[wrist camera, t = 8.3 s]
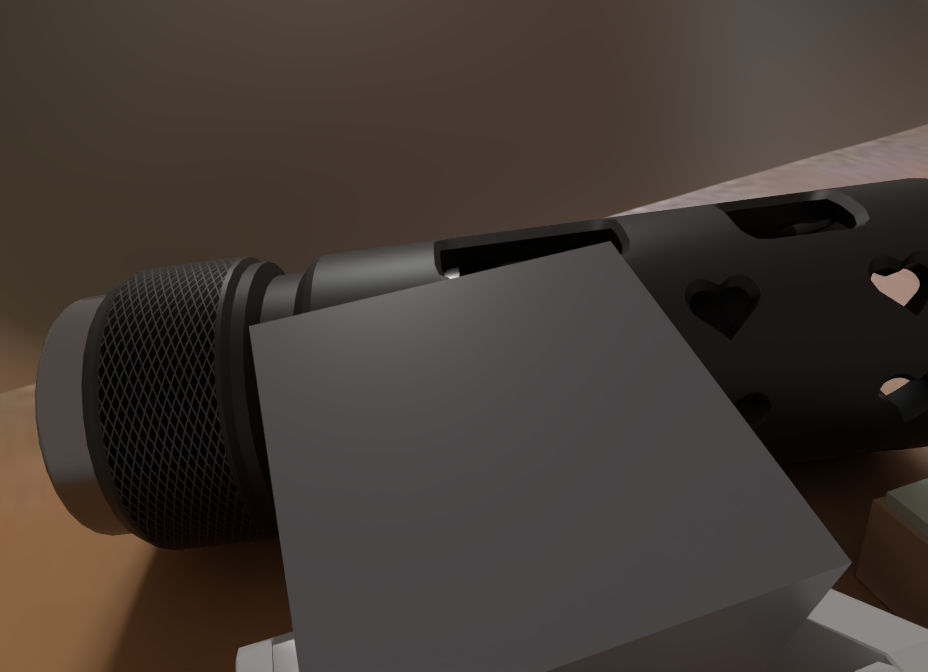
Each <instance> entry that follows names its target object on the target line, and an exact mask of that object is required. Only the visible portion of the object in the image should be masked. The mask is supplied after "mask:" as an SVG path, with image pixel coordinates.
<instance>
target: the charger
mask: <svg viewBox="0 0 928 672" xmlns="http://www.w3.org/2000/svg"><path fill="white" fill-rule="evenodd" d="M249 331H250V337H251V344H252V351H253V358H254V365H255V372H256V379H257V386H258V393H259V399H260V406H261V413H262V420H263V427H264V434H265V441H266V448H267V455H268V461H269V468H270V475H271V482H272V489H273V496H274V503H275V510H276V517H277V523H278V530H279V537H280V544H281V551H282V558H283V565H284V572H285V579H286V585H287V592H288V599H289V606H290V613H291V620H292V627H293V634H294V641H295V648H296V654H297V661H298V668H299V672H763V671H764V670H765V669H766V668H767V666H768V665H769V664H770V663H771V661H772V660H773V659H774V658H775V656H776V655H777V654H778V653H779V652H780V650H781V649H782V648H783V647H784V645H785V644H786V643H787V642H788V641H789V639H790V638H791V637H792V636H793V634H794V633H795V632H796V631H797V629H798V628H799V627H800V626H801V625H802V623H803V622H804V621H805V620H806V618H807V617H808V616H809V615H810V613H811V612H812V611H813V610H814V609H815V607H816V606H817V605H818V604H819V602H820V601H821V600H822V599H823V598H824V596H825V595H826V594H827V593H828V591H829V590H830V589H831V588H832V586H833V585H834V584H835V583H836V582H837V580H838V579H839V578H840V577H841V575H842V574H843V573H844V572H845V570H846V569H847V568H848V567H849V566H850V564H851V563H852V562H851V560H850V559H849V558H848V556H847V555H846V554H845V552H844V551H843V550H842V548H841V547H840V546H839V544H838V543H837V542H836V540H835V539H834V538H833V536H832V535H831V534H830V532H829V531H828V530H827V528H826V527H825V526H824V524H823V523H822V522H821V520H820V519H819V518H818V517H817V515H816V514H815V513H814V511H813V510H812V509H811V507H810V506H809V505H808V503H807V502H806V501H805V499H804V498H803V497H802V495H801V494H800V493H799V491H798V490H797V489H796V487H795V486H794V485H793V483H792V482H791V481H790V479H789V478H788V477H787V475H786V474H785V473H784V471H783V470H782V469H781V467H780V466H779V465H778V463H777V462H776V461H775V459H774V458H773V457H772V455H771V454H770V453H769V451H768V450H767V449H766V447H765V446H764V445H763V443H762V442H761V441H760V439H759V438H758V437H757V435H756V434H755V433H754V431H753V430H752V429H751V427H750V426H749V425H748V423H747V422H746V421H745V419H744V418H743V417H742V415H741V414H740V413H739V411H738V410H737V409H736V407H735V406H734V405H733V403H732V402H731V401H730V399H729V398H728V397H727V395H726V394H725V393H724V392H723V390H722V389H721V388H720V386H719V385H718V384H717V382H716V381H715V380H714V378H713V377H712V376H711V374H710V373H709V372H708V370H707V369H706V368H705V366H704V365H703V364H702V362H701V361H700V360H699V358H698V357H697V356H696V354H695V353H694V352H693V350H692V349H691V348H690V346H689V345H688V344H687V342H686V341H685V340H684V338H683V337H682V336H681V334H680V333H679V332H678V330H677V329H676V328H675V326H674V325H673V324H672V322H671V321H670V320H669V318H668V317H667V316H666V314H665V313H664V312H663V310H662V309H661V308H660V306H659V305H658V304H657V302H656V301H655V300H654V298H653V297H652V296H651V294H650V293H649V292H648V290H647V289H646V288H645V286H644V285H643V284H642V282H641V281H640V280H639V278H638V277H637V276H636V274H635V273H634V272H633V270H632V269H631V268H630V266H629V265H628V264H627V263H626V261H625V260H624V259H623V257H622V256H621V255H620V253H619V252H618V251H617V249H616V248H615V247H614V245H613V244H612V243H611V241H608V242H604V243H600V244H596V245H591V246H587V247H583V248H579V249H574V250H570V251H566V252H562V253H557V254H553V255H549V256H545V257H540V258H536V259H532V260H528V261H523V262H519V263H515V264H511V265H506V266H502V267H498V268H494V269H490V270H485V271H481V272H477V273H473V274H468V275H464V276H460V277H456V278H451V279H447V280H443V281H439V282H434V283H430V284H426V285H422V286H417V287H413V288H409V289H405V290H400V291H396V292H392V293H388V294H384V295H379V296H375V297H371V298H367V299H362V300H358V301H354V302H350V303H345V304H341V305H337V306H333V307H328V308H324V309H320V310H316V311H311V312H307V313H303V314H299V315H295V316H290V317H286V318H282V319H278V320H273V321H269V322H265V323H261V324H256V325H252V326H249Z"/></svg>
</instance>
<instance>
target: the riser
mask: <svg viewBox="0 0 928 672" xmlns="http://www.w3.org/2000/svg"><path fill="white" fill-rule="evenodd" d="M856 577H857V578H858V579H859V580H860V581H861V582H862V583H863V584H864V585H865V586H866V587H867V588H868V589H869V590H870V591H871V592H872V593H873V594H874V595H875V596H876V597H878V598H879V599H880V600H881V601H882V602H883V603H884V604H885V605H886V606H887V607H888V608H889V609H890V610H891V611H892V612H893V613H894V614H895V615H896V616H897V617H900V618H902V619H904V620H907V621H909V622H912V623H914V624H916V625H919V626H921V627H923V628H926V629H928V478H926V479H923V480H920V481H917V482H914V483H911V484H908V485H905V486H903V487H900V488H897V489H894V490H891V491H888V492H887V494H886V496H883V497H880V498H877V499H874V500H873V502H872V506H871V510H870V515H869V519H868V523H867V528H866V532H865V537H864V541H863V545H862V550H861V554H860V558H859V563H858V567H857V571H856Z"/></svg>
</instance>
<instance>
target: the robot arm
mask: <svg viewBox="0 0 928 672" xmlns="http://www.w3.org/2000/svg"><path fill="white" fill-rule="evenodd" d="M236 672H299V668H298V661H297V654H296V648H295V641H294V634H293V632H289V633H286V634H282V635H279V636H276V637H273V638H270V639H267V640H263V641H260V642H257V643H254V644H250V645H247V646H244V647H240V648H239V649H238V653H237V656H236ZM763 672H928V629H926V628H923V627H921V626H919V625H916V624H914V623H912V622H909V621H907V620H904V619H902V618H900V617H897V616H895V615H893V614H890V613H888V612H885V611H883V610H881V609H878V608H876V607H873V606H871V605H869V604H866V603H864V602H862V601H859V600H857V599H854V598H852V597H850V596H847V595H845V594H843V593H840V592H838V591H835V590H833V589H830V590H829V591H828V593H827V594H826V595H825V596H824V598H823V599H822V600H821V601H820V602H819V604H818V605H817V606H816V607H815V609H814V610H813V611H812V612H811V613H810V615H809V616H808V617H807V618H806V620H805V621H804V622H803V623H802V625H801V626H800V627H799V628H798V629H797V631H796V632H795V633H794V634H793V636H792V637H791V638H790V639H789V641H788V642H787V643H786V644H785V645H784V647H783V648H782V649H781V650H780V652H779V653H778V654H777V655H776V656H775V658H774V659H773V660H772V661H771V663H770V664H769V665H768V666H767V668H766V669H765V670H764V671H763Z"/></svg>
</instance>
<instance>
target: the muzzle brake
mask: <svg viewBox="0 0 928 672" xmlns="http://www.w3.org/2000/svg"><path fill="white" fill-rule="evenodd" d="M608 241H611V243H612V244H613V245H614V247H615V248H616V249H617V251H618V252H619V253H620V255H621V256H622V257H623V259H624V260H625V261H626V263H627V264H628V265H629V266H630V268H631V269H632V270H633V272H634V273H635V274H636V276H637V277H638V278H639V280H640V281H641V282H642V284H643V285H644V286H645V288H646V289H647V290H648V292H649V293H650V294H651V296H652V297H653V298H654V300H655V301H656V302H657V304H658V305H659V306H660V308H661V309H662V310H663V312H664V313H665V314H666V316H667V317H668V318H669V320H670V321H671V322H672V324H673V325H674V326H675V328H676V329H677V330H678V332H679V333H680V334H681V336H682V337H683V338H684V340H685V341H686V342H687V344H688V345H689V346H690V348H691V349H692V350H693V352H694V353H695V354H696V356H697V357H698V358H699V360H700V361H701V362H702V364H703V365H704V366H705V368H706V369H707V370H708V372H709V373H710V374H711V376H712V377H713V378H714V380H715V381H716V382H717V384H718V385H719V386H720V388H721V389H722V390H723V392H724V393H725V394H726V395H727V397H728V398H729V399H730V401H731V402H732V403H733V405H734V406H735V407H736V409H737V410H738V411H739V413H740V414H741V415H742V417H743V418H744V419H745V421H746V422H747V423H748V425H749V426H750V427H751V429H752V430H753V431H754V433H755V434H756V435H757V437H758V438H759V439H760V441H761V442H762V443H763V445H764V446H765V447H766V449H767V450H768V451H769V453H770V454H771V455H772V457H773V458H774V459H775V461H776V462H777V463H778V465H784V464H792V463H800V462H808V461H816V460H824V459H832V458H838V457H841V456H844V455H848V454H853V453H858V452H876V451H887V450H902V449H911V448H918V447H926V446H928V179H926V178H907V179H900V180H892V181H884V182H877V183H869V184H862V185H854V186H846V187H839V188H831V189H823V190H816V191H808V192H801V193H793V194H785V195H778V196H770V197H762V198H755V199H747V200H740V201H732V202H724V203H717V204H709V205H701V206H694V207H686V208H679V209H671V210H663V211H656V212H648V213H640V214H633V215H625V216H618V217H610V218H602V219H595V220H587V221H580V222H572V223H565V224H557V225H549V226H541V227H534V228H526V229H518V230H511V231H503V232H496V233H488V234H480V235H473V236H465V237H457V238H450V239H442V240H435V241H427V242H419V243H413V244H404V245H396V246H389V247H381V248H374V249H366V250H358V251H351V252H343V253H336V254H328V255H324V256H322V257H320V258H319V259H317V260H315V261H314V262H312V263H311V265H310V266H309V268H308V269H307V270H306V272H305V273H297V274H288V275H286V274H285V273H284V271H283V270H282V269H281V268H280V267H279V266H278V265H277V264H275V263H272V262H261V261H260V260H259V259H256V258H253V257H238V258H230V259H223V260H216V261H208V262H200V263H193V264H185V265H177V266H170V267H163V268H155V269H148V270H145V271H141V272H138V273H136V274H134V275H132V276H130V277H129V278H127V279H126V280H124V281H123V282H122V283H120V284H119V285H118V286H117V287H115V288H114V289H113V290H111V291H110V292H109V293H108V294H107V295H103V296H95V297H89V298H85V299H82V300H78V301H76V302H74V303H73V304H72V305H70V306H69V307H67V308H66V309H65V310H63V311H62V312H61V313H60V315H59V316H58V317H57V319H56V320H55V321H54V323H53V324H52V326H51V328H50V330H49V333H48V335H47V337H46V339H45V342H44V345H43V348H42V352H41V357H40V360H39V364H38V372H37V380H36V389H35V404H36V424H37V431H38V438H39V445H40V449H41V452H42V456H43V459H44V463H45V467H46V470H47V473H48V475H49V477H50V480H51V482H52V484H53V487H54V489H55V491H56V493H57V495H58V496H59V498H60V500H61V501H62V503H63V504H64V506H65V507H66V509H67V510H68V512H69V513H70V514H71V515H72V516H73V517H74V518H75V519H76V520H77V521H78V522H80V523H81V524H82V525H83V526H85V527H87V528H89V529H91V530H92V531H94V532H97V533H100V534H106V535H112V536H114V535H122V534H130V533H132V534H134V535H136V536H137V537H139V538H141V539H142V540H144V541H146V542H148V543H150V544H152V545H154V546H156V547H159V548H164V549H171V550H182V549H190V548H198V547H206V546H214V545H222V544H230V543H238V542H246V541H253V540H261V539H269V538H276V537H279V530H278V523H277V517H276V510H275V503H274V496H273V489H272V482H271V475H270V468H269V461H268V455H267V448H266V441H265V434H264V427H263V420H262V413H261V406H260V399H259V393H258V386H257V379H256V372H255V365H254V358H253V351H252V344H251V337H250V331H249V326H252V325H256V324H261V323H265V322H269V321H273V320H278V319H282V318H286V317H290V316H295V315H299V314H303V313H307V312H311V311H316V310H320V309H324V308H328V307H333V306H337V305H341V304H345V303H350V302H354V301H358V300H362V299H367V298H371V297H375V296H379V295H384V294H388V293H392V292H396V291H400V290H405V289H409V288H413V287H417V286H422V285H426V284H430V283H434V282H439V281H443V280H447V279H451V278H456V277H460V276H464V275H468V274H473V273H477V272H481V271H485V270H490V269H494V268H498V267H502V266H506V265H511V264H515V263H519V262H523V261H528V260H532V259H536V258H540V257H545V256H549V255H553V254H557V253H562V252H566V251H570V250H574V249H579V248H583V247H587V246H591V245H596V244H600V243H604V242H608ZM903 268H904V269H908V270H910V271H911V272H913V273H914V274H915V275H916V276H917V277H918V279H919V282H920V287H919V289H918V291H917V292H916V294H915V295H914V296H913V297H912V298H911V299H910V300H909V301H908V303H907V304H906V305H905V306H902V305H901V304H899V303H897V302H896V301H894V300H893V299H891V298H890V297H888V296H886V295H885V294H883V293H882V292H880V291H879V290H878V289H877V288H876V286H875V285H874V284H873V283H872V281H871V276H872V274H873V273H876V274H879V275H882V276H888V275H890V274H893V273H896V272H899V271H900V270H902V269H903ZM893 378H905V379H908V380H910V381H909V382H908V383H906V384H905V385H903V386H902V387H900V388H899V389H897V390H896V391H894V392H892V393H890V394H889V395H887V396H886V395H885V394H884V393H883V392H882V391H881V390H880V388H881V387H882V385H883V384H884V383H885V382H887V381H888V380H891V379H893Z"/></svg>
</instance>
